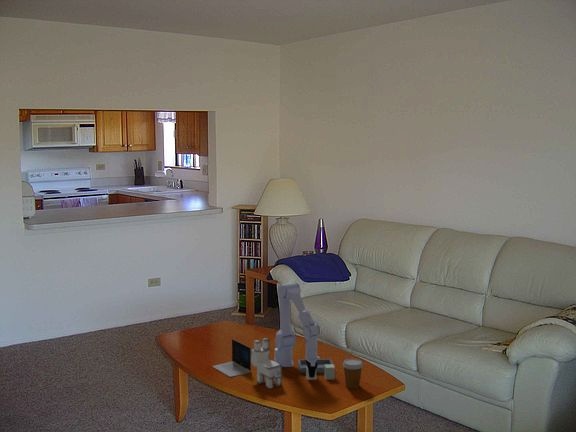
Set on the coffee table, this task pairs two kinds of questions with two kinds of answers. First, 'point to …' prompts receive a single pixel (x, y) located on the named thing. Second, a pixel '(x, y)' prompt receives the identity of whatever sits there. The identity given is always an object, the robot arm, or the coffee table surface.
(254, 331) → the coffee table surface
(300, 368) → the grey tray
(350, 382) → the disposable coffee cup
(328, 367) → the sage block
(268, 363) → the toy llama
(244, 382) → the coffee table surface
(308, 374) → the cream block
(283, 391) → the coffee table surface
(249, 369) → the laptop
